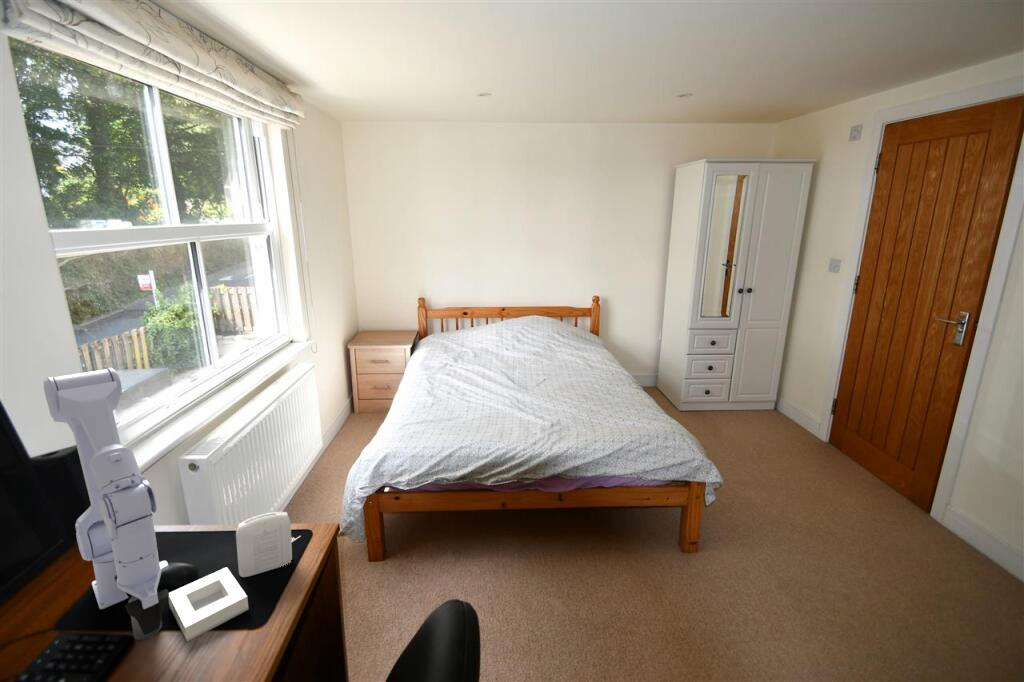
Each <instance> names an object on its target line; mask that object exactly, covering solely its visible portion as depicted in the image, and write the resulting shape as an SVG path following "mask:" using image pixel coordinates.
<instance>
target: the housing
mask: <svg viewBox="0 0 1024 682" xmlns="http://www.w3.org/2000/svg"><path fill="white" fill-rule="evenodd" d="M248 598H249V597H248V595H247V594H246V592H245V590H244V589H243V588H242V587H241V585H240V584H239V582H238V580H237V579H236V578H235V576H234V575H233V574H232V572H231V570H230V569H229V568H228V567H223V568H221V569H219V570H217V571H215V572H213V573H210V574H208V575H205V576H203V577H202V578H199V579H197V580H194V581H193V582H190V583H187V584H185V585H184V586H181V587H179V588H177V589H175V590H172V591H170V592H169V598H168V604H169V609H170V611H171V612H172V614H173V617H174V619H175V620H176V622H177V625H178V627H179V628H180V631H181V632H182V634H183V637H184V639H185V640H186V642H189V641H191V640H193V639H195V638H197V637H199V636H201V635H203V634H205V633H206V632H208V631H210V630H213V629H214V628H217V627H218V626H220V625H222V624H224V623H227V621H230V620H231V619H234V618H236V617H237V616H240V615H241V614H243V613H245V612H246V611H249V601H248V600H249V599H248Z"/></svg>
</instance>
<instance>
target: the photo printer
mask: <svg viewBox="0 0 1024 682" xmlns="http://www.w3.org/2000/svg"><path fill="white" fill-rule="evenodd" d="M291 526H292V525H291V520H290V517H289V515H288V512H287V511H273V512H267V513H261V514H259V515H255V516H252V517H250V518H248V519H245V520H244V521H241V522H240V523H238V524H237V529H236V531H235V539H236V553H237V555H236V556H237V565H238V575H239V576H240V577H242V578H246V577H251V576H255V575H258V574H261V573H265V572H268V571H271V570H274V569H278V568H281V566H282V567H285V566H287V565H289V564H291V563H292V561H291V560H293V550H292V549H293V546H292V545H293V542H292V529H291V528H292V527H291ZM288 563H289V564H288ZM286 564H287V565H286ZM284 565H285V566H284Z"/></svg>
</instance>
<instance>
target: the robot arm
mask: <svg viewBox="0 0 1024 682" xmlns="http://www.w3.org/2000/svg"><path fill="white" fill-rule="evenodd" d="M122 390H123V387H122V383H121V378H120V375H119V373H118V372H117V370H116V369H114V368H113V367H106V368H105V369H98V370H91V371H86V372H78V373H73V374H72V373H71V374H65V375H59V376H58V375H57V376H54V377H52V376H47V377H46V379H44V381H43V391H44V396H45V400H46V402H47V405H48V406H47V407H48V410H49V414H50V417H51V418H52V419H53V422H55V423H56V422H58V423H65V424H67V425H68V427H69V428H70V430H71V431H72V432H73V437H74V441H75V445H76V448H77V453H78V456H79V460H80V465H81V469H82V474H83V478H84V482H85V486H86V489H87V493H88V497H89V501H90V506H89V507H88V508H87V509H86V510H85V511H84V512H83V513H82V514H81V515H80V516H79V517H78V518H77V519H76V521H75V525H74V526H75V527H74V528H75V531H76V533H75V535H76V541H77V545H78V550H79V553H80V555H81V558H82V559H83V560H84V561H86V562H91V561H92V566H93V572H94V577H95V580H93V581H92V582H91V586H92V590H93V592H94V596H95V598H96V602H97V605H98V608H99V610H104V609H106V608H108V607H111V606H113V605H116V604H118V603H121V602H122V601H125V600H126V599H128V601H129V600H130V598H131V597H132V596H135V597H137V598H138V599H137V600H135V601H132V602H130V603H126V604H125V605H124V607H125V609H126V612H127V614H128V615H129V616H130V615H131V616H132V617H134V618H135V619H136V620H137V621H138V623H139V625H140V628H141V630H142V632H143V633H144V635H147V634H149V633H151V632H153V631H155V630H157V629H159V627H160V623H161V621H162V615H163V610H164V608H165V605H166V603H167V601H169V599H168V598H169V593H170V592H169V590H168V589H167V588H165V589H163V590H160V591H158V588H159V587H158V586H159V585H160V584H159V583H160V579H161V575H162V573H163V572H164V571H166V570H168V569H169V563H168V561H167V560H161V561H160V560H159V559H160V558H159V552H158V544H157V537H156V531H155V523H154V517H153V513H154V514H155V513H156V512H157V498H156V495H155V492H154V489H153V488H152V486H151V484H150V482H149V481H148V479H147V477H146V476H145V475H142V473H141V470H140V468H139V465H138V462H137V459H136V457H135V454H134V451H133V449H132V448H130V447H128V446H125V445H122V444H121V440H120V436H119V431H118V427H117V424H116V418H115V415H114V414H115V413H114V411H115V410H117V408H118V405H119V403H120V399H121V396H122V393H123V391H122ZM131 616H130V617H131Z"/></svg>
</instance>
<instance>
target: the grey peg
mask: <svg viewBox="0 0 1024 682" xmlns="http://www.w3.org/2000/svg"><path fill="white" fill-rule="evenodd" d="M137 599H138V598H137V597H135V596H132V597H131V598H130V600H129V599H128V603H130V602H132V601H135V600H137ZM128 603H127V604H128ZM129 616H130V622H131V627H132V633H133V638H134V640H137V641H143V640H144V641H145V640H147V639H151V638H152V637H154V636H155V635H157V634H158V633H159V632H160V630H161V629H162V627H163V621H162V620H161V623H160V627H159V629H157V630H155V631H153V632H151V633H149V634H147V635H144V633H143V632H142V630H141V628H140V625H139V623H138V621H137V620H136V619H135V618H134V617H132V616H131V615H130V614H129Z"/></svg>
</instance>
